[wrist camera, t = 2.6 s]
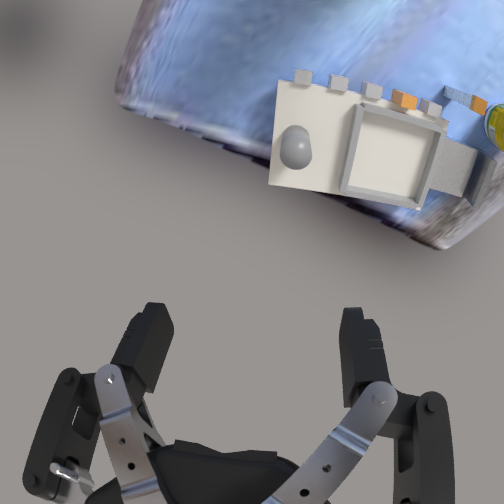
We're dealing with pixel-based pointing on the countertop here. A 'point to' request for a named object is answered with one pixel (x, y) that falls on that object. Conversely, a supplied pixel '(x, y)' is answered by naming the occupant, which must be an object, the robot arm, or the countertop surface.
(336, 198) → the countertop surface
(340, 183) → the toothed carriage
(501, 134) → the supplement bottle
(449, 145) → the index track
